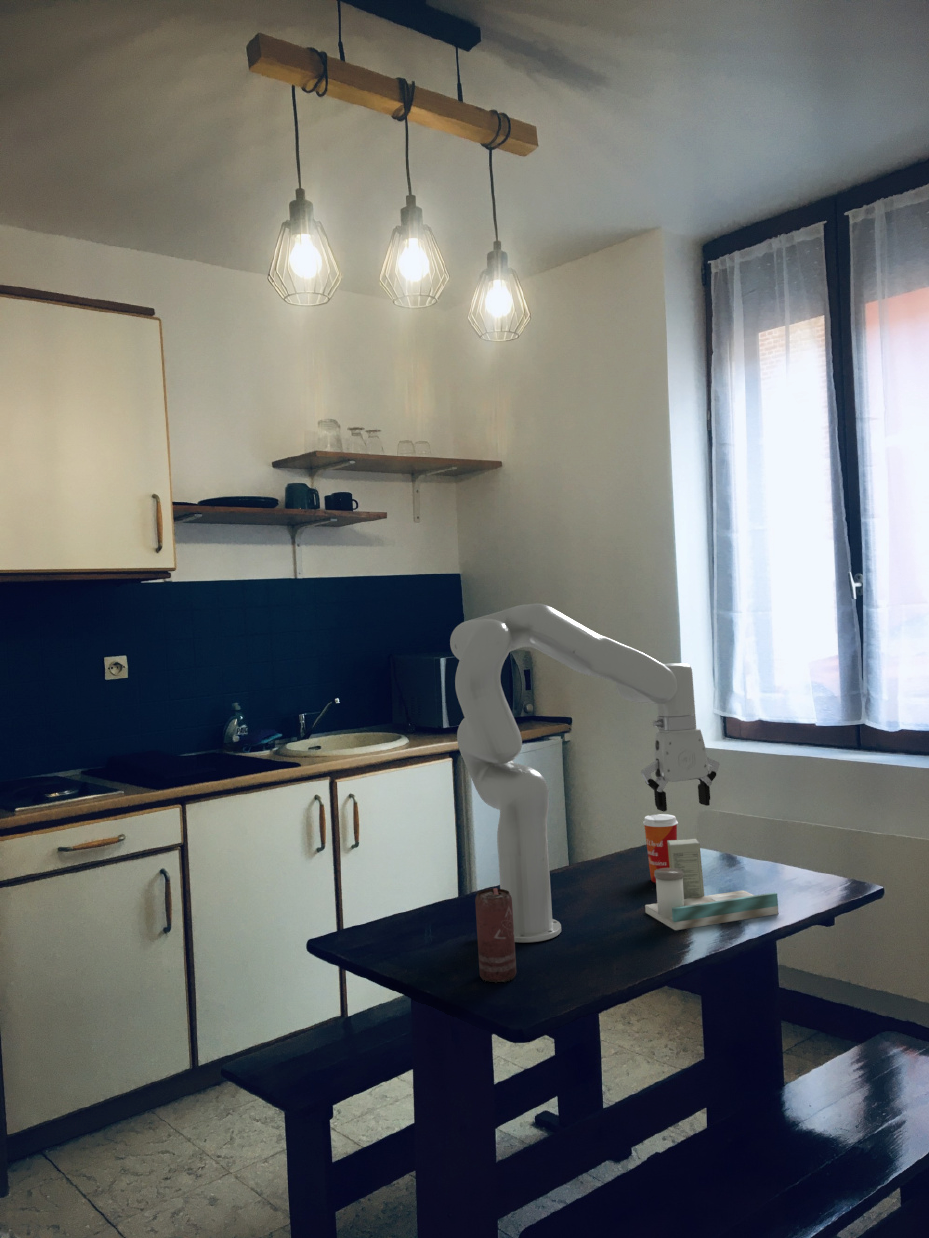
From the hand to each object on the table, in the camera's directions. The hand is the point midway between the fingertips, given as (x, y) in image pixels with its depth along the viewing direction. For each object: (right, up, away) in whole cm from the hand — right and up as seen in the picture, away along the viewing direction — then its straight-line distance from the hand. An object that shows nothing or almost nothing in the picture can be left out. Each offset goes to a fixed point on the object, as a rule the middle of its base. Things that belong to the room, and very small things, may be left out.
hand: (683, 807), depth 191 cm
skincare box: (+1, -19, 0) cm, 19 cm away
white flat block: (+3, -19, -9) cm, 21 cm away
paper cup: (-1, -20, +16) cm, 25 cm away
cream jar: (-5, -18, -12) cm, 22 cm away
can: (-39, -21, -35) cm, 57 cm away
